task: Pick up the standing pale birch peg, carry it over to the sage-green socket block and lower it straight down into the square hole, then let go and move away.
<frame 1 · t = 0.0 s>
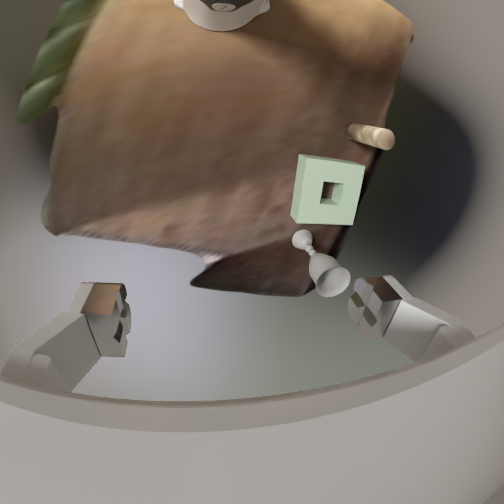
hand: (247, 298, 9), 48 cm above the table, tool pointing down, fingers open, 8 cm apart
socket block: (323, 187, 59), on the table
chalice: (302, 238, 65), on the table
peg: (352, 131, 54), on the table
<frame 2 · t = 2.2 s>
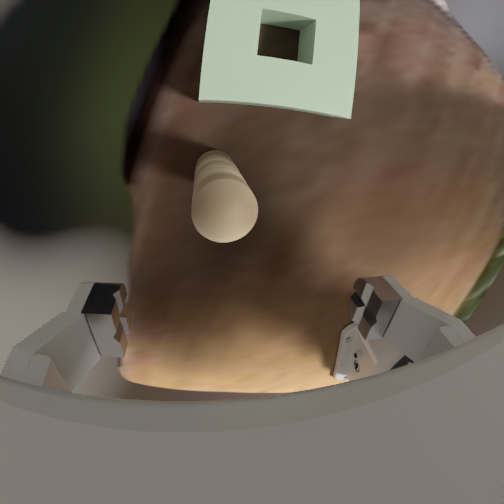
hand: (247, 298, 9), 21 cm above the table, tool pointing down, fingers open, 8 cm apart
socket block: (274, 45, 22), on the table
peg: (214, 168, 27), on the table
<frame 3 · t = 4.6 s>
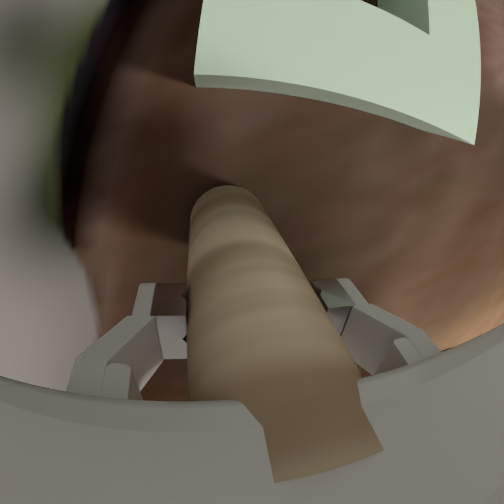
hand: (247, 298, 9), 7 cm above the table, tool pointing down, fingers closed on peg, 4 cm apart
peg: (227, 220, 15), on the table, touching gripper
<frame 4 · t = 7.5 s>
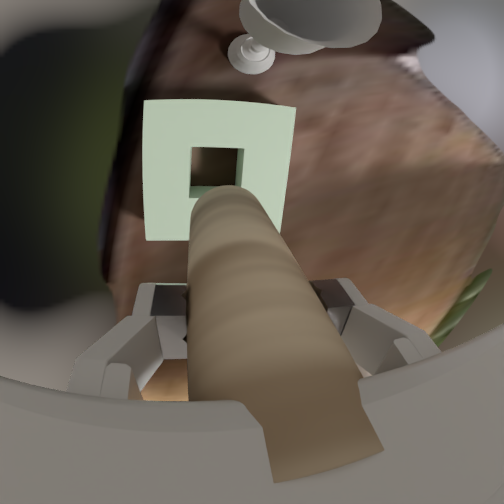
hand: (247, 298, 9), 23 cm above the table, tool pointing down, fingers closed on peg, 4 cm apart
socket block: (213, 164, 29), on the table
chalice: (251, 53, 23), on the table
peg: (227, 221, 15), point 16 cm above the table, touching gripper
when the fingers open (8 cm above the table, at t = 10.8 s): peg stays where it is, resting in socket block.
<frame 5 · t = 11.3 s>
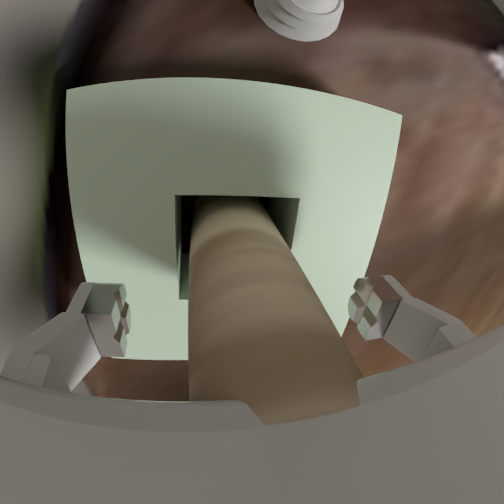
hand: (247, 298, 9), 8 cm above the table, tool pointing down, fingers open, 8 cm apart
socket block: (225, 214, 16), on the table
chalice: (298, 5, 10), on the table
peg: (227, 215, 16), resting in socket block
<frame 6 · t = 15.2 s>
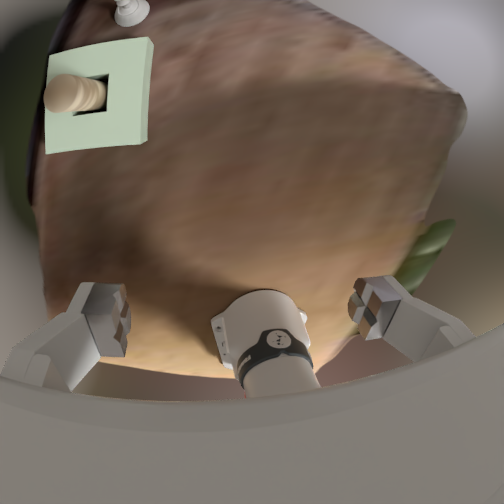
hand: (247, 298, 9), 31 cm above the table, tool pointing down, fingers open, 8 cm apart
socket block: (101, 96, 28), on the table
chalice: (132, 12, 23), on the table
peg: (102, 96, 29), resting in socket block
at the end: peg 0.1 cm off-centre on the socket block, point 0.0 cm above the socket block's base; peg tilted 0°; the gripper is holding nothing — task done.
